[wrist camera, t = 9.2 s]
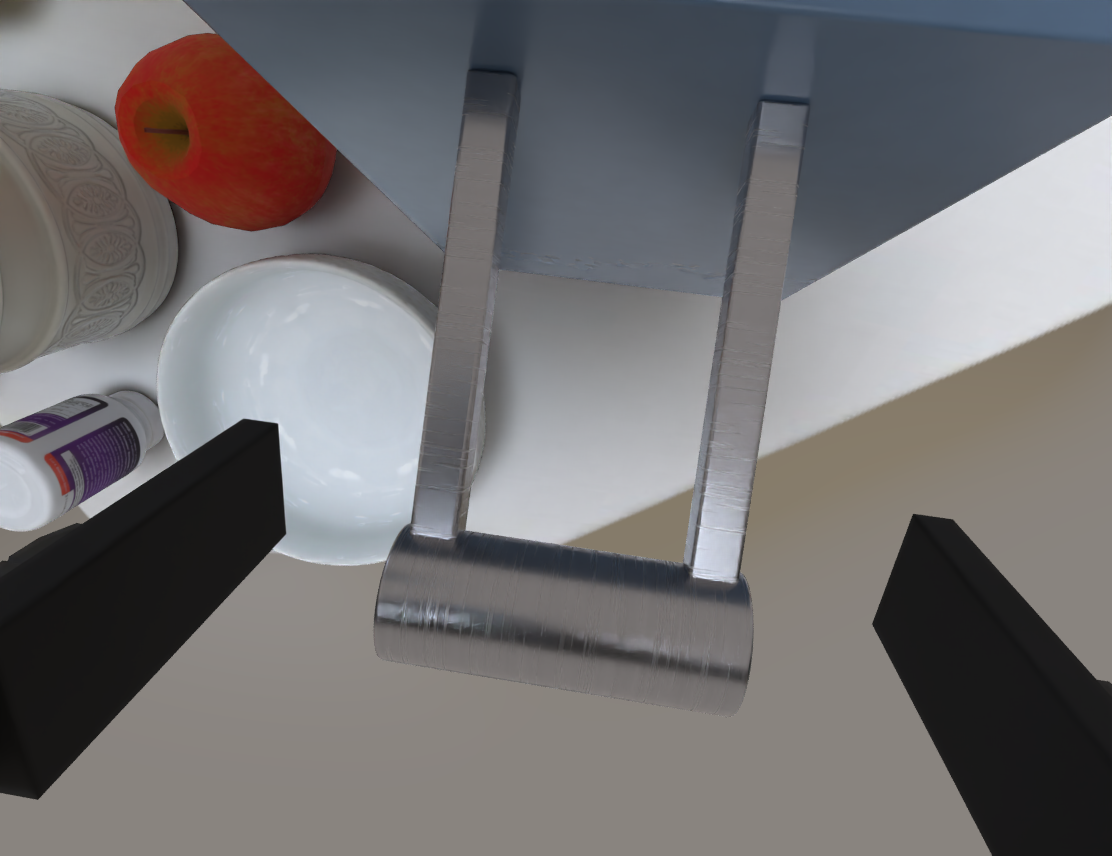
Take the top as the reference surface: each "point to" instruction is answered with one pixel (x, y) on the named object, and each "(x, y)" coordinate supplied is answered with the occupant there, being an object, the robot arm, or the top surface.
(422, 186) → the lid
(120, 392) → the pill bottle
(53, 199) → the jar
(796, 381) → the top surface
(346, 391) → the cereal bowl
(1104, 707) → the robot arm
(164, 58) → the apple
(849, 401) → the top surface
